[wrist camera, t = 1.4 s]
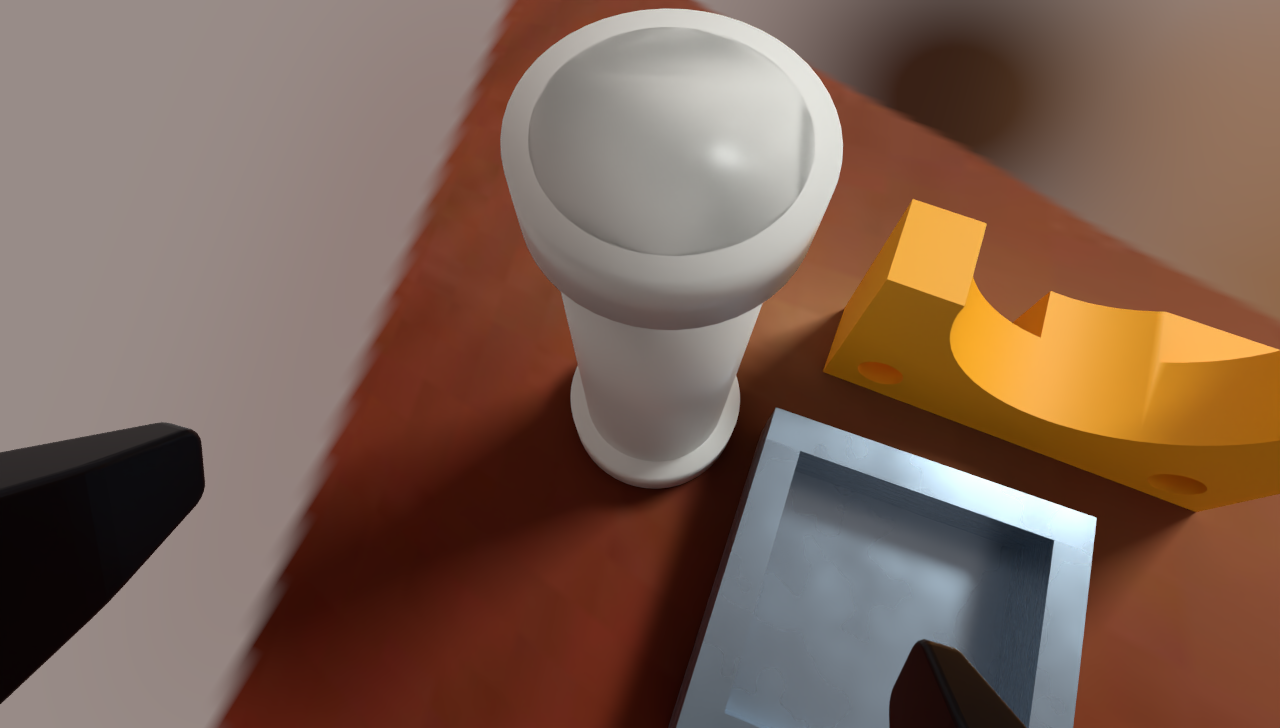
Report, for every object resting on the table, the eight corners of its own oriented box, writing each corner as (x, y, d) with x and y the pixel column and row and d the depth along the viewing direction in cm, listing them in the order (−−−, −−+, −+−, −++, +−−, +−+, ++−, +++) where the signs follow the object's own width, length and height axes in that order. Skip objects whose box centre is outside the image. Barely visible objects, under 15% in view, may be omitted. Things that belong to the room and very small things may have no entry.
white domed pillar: (704, 512, 21) (795, 340, 8) (549, 455, 21) (430, 220, 9) (753, 366, 22) (885, 54, 10) (609, 317, 23) (575, -29, 11)
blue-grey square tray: (997, 865, 17) (1053, 901, 15) (667, 727, 18) (671, 740, 16) (1044, 531, 20) (1096, 517, 18) (761, 431, 21) (775, 407, 19)
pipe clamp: (1204, 392, 22) (1412, 302, 16) (1191, 513, 21) (1416, 463, 15) (856, 270, 24) (928, 149, 18) (821, 373, 22) (887, 278, 16)
